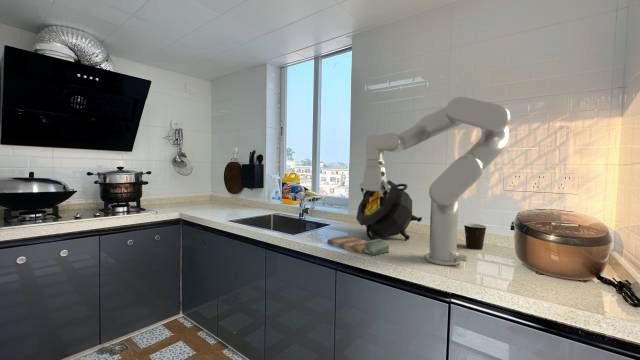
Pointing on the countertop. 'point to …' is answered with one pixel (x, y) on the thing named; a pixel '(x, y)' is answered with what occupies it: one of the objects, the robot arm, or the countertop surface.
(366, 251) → the sanding block
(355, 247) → the oak board
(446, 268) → the countertop surface
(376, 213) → the black cauldron
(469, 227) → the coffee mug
